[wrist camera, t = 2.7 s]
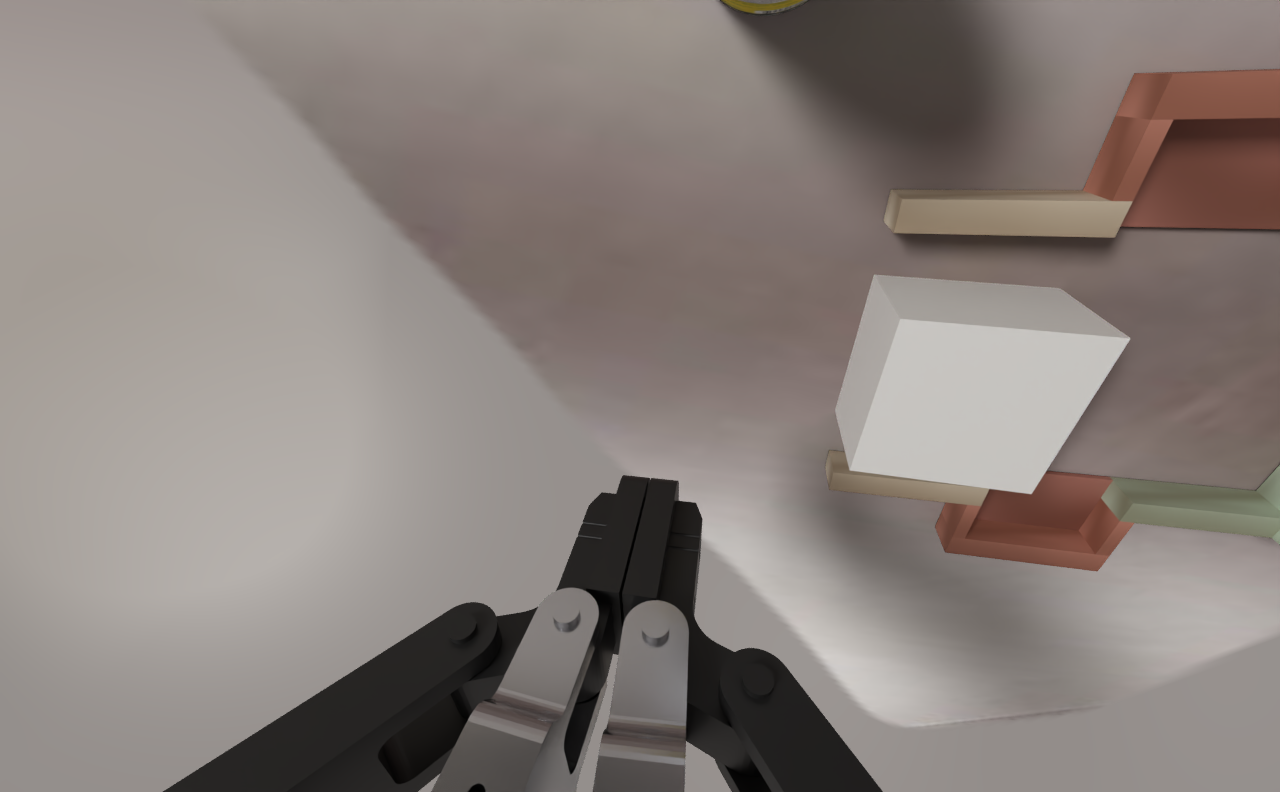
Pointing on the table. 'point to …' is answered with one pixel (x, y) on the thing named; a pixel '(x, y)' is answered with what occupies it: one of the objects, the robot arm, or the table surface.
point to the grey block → (970, 380)
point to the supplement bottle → (763, 6)
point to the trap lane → (1112, 198)
